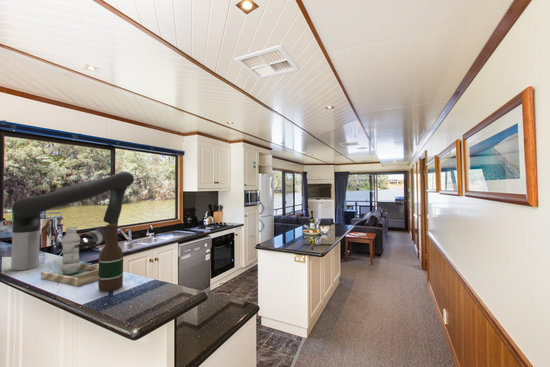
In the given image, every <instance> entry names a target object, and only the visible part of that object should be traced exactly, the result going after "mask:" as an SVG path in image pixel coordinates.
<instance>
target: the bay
mask: <svg viewBox="0 0 550 367" xmlns="http://www.w3.org/2000/svg"><path fill="white" fill-rule="evenodd" d="M80 265H81V267H80V270H79V272H77V273H74V274H67V275H64V274H63V273H62V272H60V273H53V272H48V271H41V272H40V279H41V278H42V279H43V280H46V279H47V280H48V281H51V280H52V282H57V283H61V284H66V285H71V286H76V287H80V286H84V285H87V284H90V283H93V282H95V281H98V276H99V265H93V264H92V265H91V264H87V263H81V262H80Z"/></svg>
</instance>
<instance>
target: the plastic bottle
mask: <svg viewBox="0 0 550 367" xmlns="http://www.w3.org/2000/svg"><path fill="white" fill-rule="evenodd" d="M77 230H78V227H77V226H72V227H71V226H69V227H65V235H63V237H62V238H61V241H60V242H61V243H62V257H63V258H62V264H61V268H60V270H61V273H63V274H64V275H67V274H74V273H77V272H79V270H80V267H81V265H80V263H81V262H80V249H79V244H80V237H79V235H80V234H78V233H77V232H78V231H77Z"/></svg>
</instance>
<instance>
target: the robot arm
mask: <svg viewBox="0 0 550 367" xmlns="http://www.w3.org/2000/svg"><path fill="white" fill-rule="evenodd" d="M134 180H135V178H134V175H133V174H132V173H131V172H128V171H123V170H122V171H119V172H117V173H115V174H113V175H109V176H107V177H102V178H97V179H91V180H87V181H82V182H77V183H73V184H70V185H67V186H64V187H62V188H58V189H56V190H54V191H52V192H47V193H44V194H39V195H35V196H28V197H27V196H26V197H22V198H19V199H17V200H16V201H14V203H12V207H11V211H12V213H13V217H12V218H13V221H12V228H11V229H12V230H11V231H12V232H11V233H12V234H11V235H12V237H11V271H15V272H18V271H25V270H30V269H34V268H38V267H39V266H40V238H41V237H40V236H41V235H40V234H41V233H40V232H41V231H40V230H41V213H42V212H46V211H47V210H51V209H53V208H57V207H62V206H65V205H70V204H75V203H79V202H82V201H86V200H89V199H92V198H94V197H97V196H99V195H102V194H104V193H107V192H108V191H109V192H110V191H111V195H110V198H109V201H108V204H107V208H106V209H105V212H104V216H103V222H105V223H107V224H117V226H118V227H119V225H118V224H119V220H120V219H119V218H120V215H121V213H122V207H123V201H124V196H125V193H126V191H127V189H128V187H130V186H132V185H133V183H134ZM118 227H117V236H118V234H119V230H118V229H119V228H118ZM106 232H107V228H106V226H98V227H97V228H96V229H95V230H91V231H87V232H84V233H81V234H78V235H79V237H80V244H79V250H88V249H90V248H93V247H95V246H98V245H99V244H101V243H103V242H106ZM55 249H56V250H59V251H60V250H63V248H62V243H61V241H58V242H57V244H56V245H55Z"/></svg>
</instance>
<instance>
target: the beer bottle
mask: <svg viewBox="0 0 550 367" xmlns="http://www.w3.org/2000/svg"><path fill="white" fill-rule="evenodd" d="M105 227H106V228H107V232H106V240H105V241H104V242H105V243H104V246H103V248H102V249H101V250H100V253H99V254H98V266H99V276H98V280H97V281H98V284H97V285H98V290H99V292H100V293H101V292H103V293H104V292H105V293H108V292H113V291H116V290H119V289H121V287H123V282H124V252H123V250H122V248H121V247H120V245H119V243H118V242H119V241H118V235H117V227H119V225H118V226H117V224H109V223H107V224H106V226H105Z"/></svg>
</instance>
